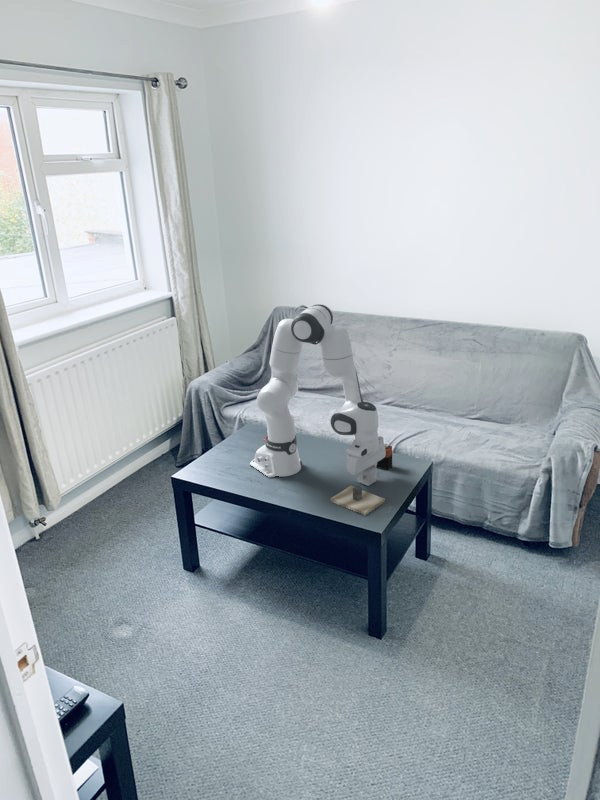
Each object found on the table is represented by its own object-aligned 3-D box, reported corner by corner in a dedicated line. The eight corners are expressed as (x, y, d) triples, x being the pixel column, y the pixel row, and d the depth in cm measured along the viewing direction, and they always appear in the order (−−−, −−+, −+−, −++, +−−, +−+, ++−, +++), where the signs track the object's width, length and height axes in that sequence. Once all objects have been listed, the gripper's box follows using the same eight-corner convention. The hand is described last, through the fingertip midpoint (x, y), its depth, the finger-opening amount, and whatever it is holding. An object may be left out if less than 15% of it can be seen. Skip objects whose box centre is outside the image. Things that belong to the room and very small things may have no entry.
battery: (388, 470, 247) (387, 448, 244) (372, 467, 251) (372, 444, 247) (392, 466, 251) (392, 443, 247) (377, 462, 254) (377, 440, 251)
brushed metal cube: (357, 481, 239) (357, 468, 237) (366, 476, 243) (365, 463, 241) (368, 485, 236) (368, 472, 234) (376, 480, 239) (376, 467, 237)
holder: (330, 501, 227) (329, 487, 225) (350, 488, 235) (350, 475, 233) (365, 515, 217) (364, 501, 215) (385, 501, 225) (385, 488, 223)
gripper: (376, 432, 242) (376, 463, 247) (343, 450, 229) (344, 483, 234) (389, 436, 238) (389, 468, 243) (356, 455, 225) (357, 488, 230)
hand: (367, 476), depth 238 cm, fingers closed on brushed metal cube, 5 cm apart
